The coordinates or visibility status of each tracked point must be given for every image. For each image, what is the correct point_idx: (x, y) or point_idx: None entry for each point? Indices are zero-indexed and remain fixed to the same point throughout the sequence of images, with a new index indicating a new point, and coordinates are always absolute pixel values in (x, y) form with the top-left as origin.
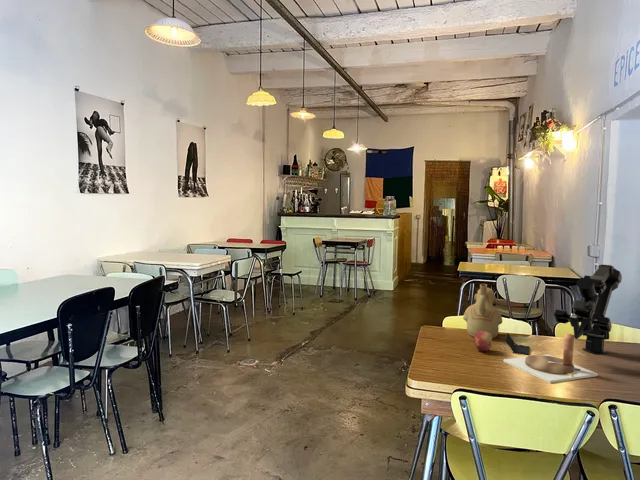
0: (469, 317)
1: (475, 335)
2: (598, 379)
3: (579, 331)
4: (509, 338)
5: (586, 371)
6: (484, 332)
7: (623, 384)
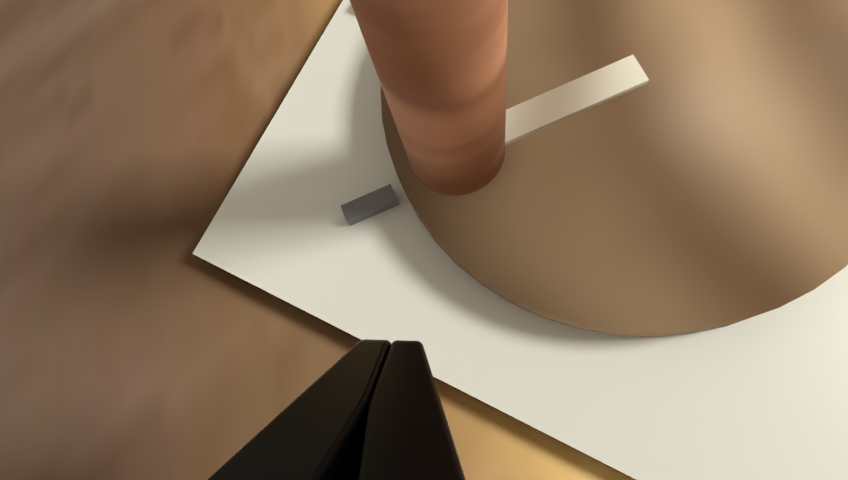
0: None
1: None
2: (190, 170)
3: (254, 471)
4: None
5: (292, 236)
6: None
7: (12, 206)
